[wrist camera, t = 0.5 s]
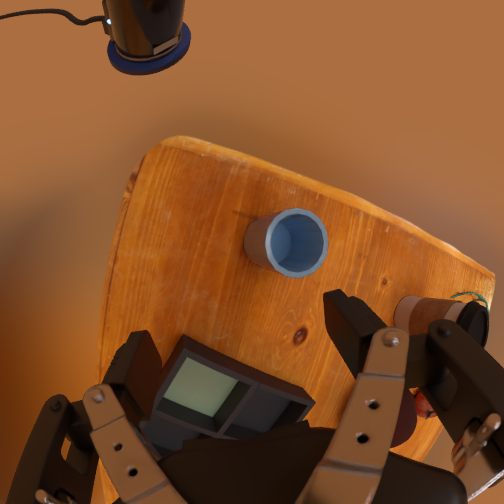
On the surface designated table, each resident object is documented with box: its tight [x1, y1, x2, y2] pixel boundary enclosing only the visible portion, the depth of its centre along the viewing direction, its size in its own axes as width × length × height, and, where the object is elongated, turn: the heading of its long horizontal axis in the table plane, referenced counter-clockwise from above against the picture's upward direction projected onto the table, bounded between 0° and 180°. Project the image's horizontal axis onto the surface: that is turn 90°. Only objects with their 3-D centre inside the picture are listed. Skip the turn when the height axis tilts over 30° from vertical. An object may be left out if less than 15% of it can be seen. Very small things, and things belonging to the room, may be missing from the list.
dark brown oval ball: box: [390, 389, 417, 448], centre depth 32 cm, size 11×13×10 cm
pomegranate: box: [415, 391, 437, 419], centre depth 38 cm, size 7×7×10 cm
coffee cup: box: [394, 296, 489, 348], centre depth 30 cm, size 8×8×15 cm
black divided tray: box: [139, 334, 316, 458], centre depth 28 cm, size 18×18×4 cm
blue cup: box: [244, 208, 328, 278], centre depth 27 cm, size 6×6×8 cm
